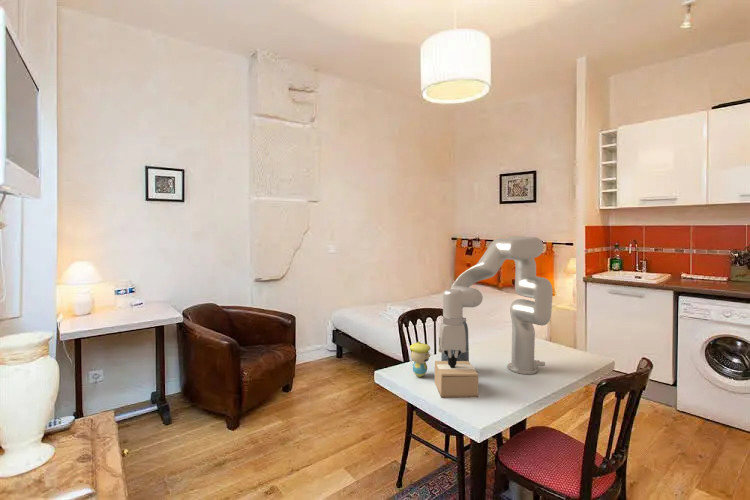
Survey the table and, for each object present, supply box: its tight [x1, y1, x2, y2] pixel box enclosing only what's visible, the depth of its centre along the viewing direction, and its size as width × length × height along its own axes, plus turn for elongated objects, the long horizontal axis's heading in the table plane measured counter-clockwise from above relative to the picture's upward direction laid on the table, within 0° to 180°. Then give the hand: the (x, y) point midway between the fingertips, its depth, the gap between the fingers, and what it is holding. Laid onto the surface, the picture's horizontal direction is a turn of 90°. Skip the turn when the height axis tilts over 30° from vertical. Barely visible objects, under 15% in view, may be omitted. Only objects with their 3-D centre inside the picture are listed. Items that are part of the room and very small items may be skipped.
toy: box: [409, 341, 431, 377], centre depth 168 cm, size 8×9×15 cm
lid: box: [434, 360, 479, 377], centre depth 154 cm, size 14×14×1 cm
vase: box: [440, 320, 470, 362], centre depth 172 cm, size 12×12×28 cm
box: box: [434, 363, 479, 399], centre depth 155 cm, size 14×14×8 cm
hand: (452, 366), depth 154 cm, fingers closed
